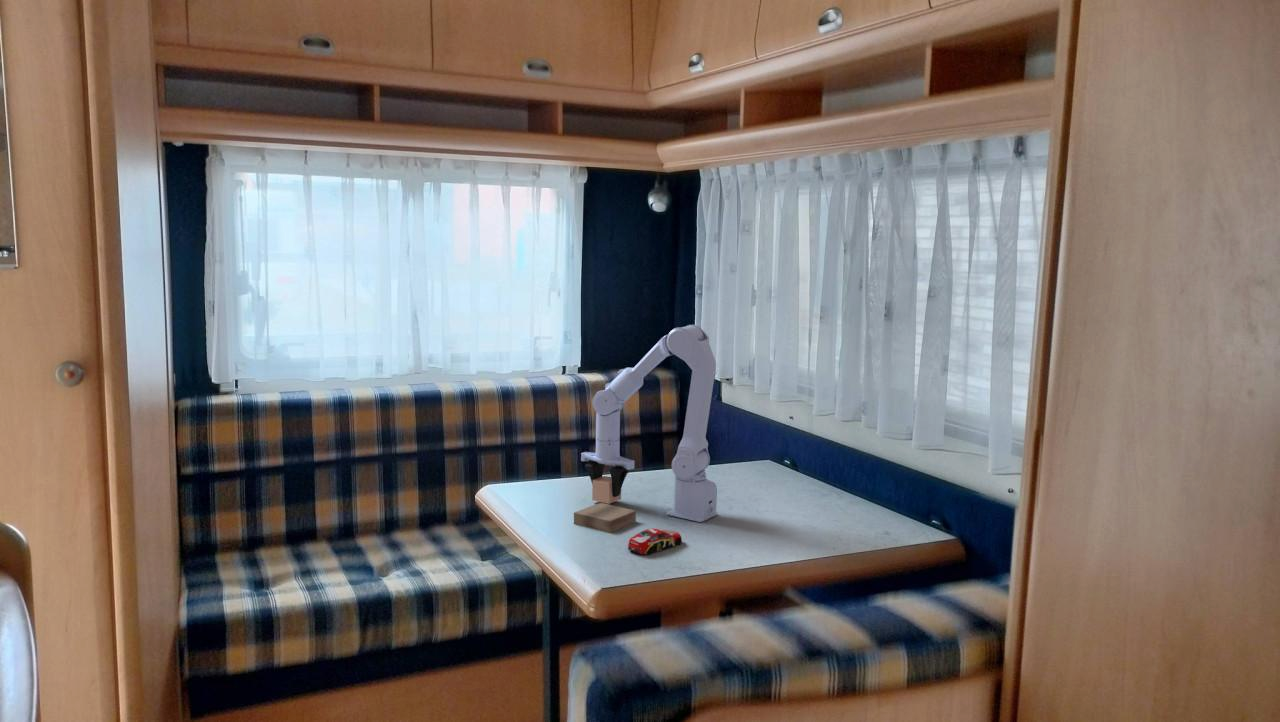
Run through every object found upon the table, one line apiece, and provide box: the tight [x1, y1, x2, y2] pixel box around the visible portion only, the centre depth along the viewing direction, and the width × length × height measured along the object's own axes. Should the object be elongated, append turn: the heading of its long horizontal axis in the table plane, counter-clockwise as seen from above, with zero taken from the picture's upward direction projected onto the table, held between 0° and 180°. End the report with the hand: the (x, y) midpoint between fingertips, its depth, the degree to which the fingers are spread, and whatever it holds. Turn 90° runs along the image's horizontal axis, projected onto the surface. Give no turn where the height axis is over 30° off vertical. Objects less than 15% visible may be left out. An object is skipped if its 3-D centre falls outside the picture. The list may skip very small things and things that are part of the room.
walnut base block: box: [573, 502, 637, 533], centre depth 208 cm, size 10×10×3 cm
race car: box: [627, 528, 683, 555], centre depth 193 cm, size 13×5×4 cm, turn 133°
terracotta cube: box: [592, 475, 622, 505], centre depth 224 cm, size 5×5×5 cm
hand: (606, 493), depth 224 cm, fingers closed on terracotta cube, 5 cm apart
